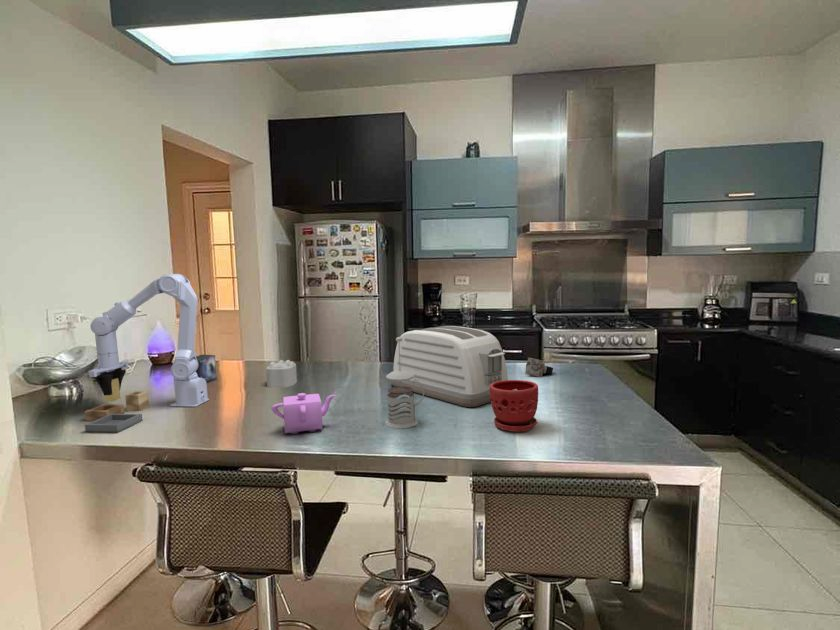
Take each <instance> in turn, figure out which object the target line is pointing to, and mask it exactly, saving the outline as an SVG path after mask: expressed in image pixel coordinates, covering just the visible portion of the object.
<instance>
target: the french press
mask: <svg viewBox="0 0 840 630" xmlns="http://www.w3.org/2000/svg"><path fill="white" fill-rule="evenodd" d="M395 341H396V342H398V341H399V365H400V341H402V338H401V337H400V336H398V337H396V338H395ZM413 377H414V374H412V373H411V372H408V371H406V370H396V371H391V372H390V373H388V374H387V375H386V376H385V378H386V379H387V380H388V381H390V380H393V381H400V386H396V387H395V386H392V387H390V388H389V389H387V392H388V393H387V397H386V398H387V419H386V420H385V421H384V425H385V426H387V427H389V428H393V429H394V428H395V429H405V428H406V429H408V428H411V427H414V426H416V425H418V423H419V420H418V418H417V417H416V407H417V406H418V405H420V404H421V403H423V400H424V397H425V395H424V388H423V386H422V384H421V383H420V382H419V381H418V382H419V383H420V384H421V385H420V384H419V383H418V382H416V381H417V380H413V385H414V382H416V383H418V384H419V385H420V386H421V388H422V390H423V395H422V397H421V399H420V400H419V401H417V402H415V392H412V391H413V389H412V388H411V387H402V386H401V381H404V380H410V379H412V378H413ZM405 395H406V396H405ZM407 396H409V397H407Z"/></svg>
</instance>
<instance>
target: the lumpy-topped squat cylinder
mask: <svg viewBox="0 0 840 630" xmlns="http://www.w3.org/2000/svg"><path fill="white" fill-rule="evenodd" d="M265 372H266V387H268V388H288V387H292V386H294V385H296V384H297V382H298V379H297V378H298V377H297V376H298V375H297V364H296V363H295V361H291V360H290V359H287V360H283V359H281V360H278V361H277V362H275V361H270V363H269V364H268V366H267V367H266V368H265Z"/></svg>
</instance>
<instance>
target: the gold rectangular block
mask: <svg viewBox="0 0 840 630" xmlns="http://www.w3.org/2000/svg"><path fill="white" fill-rule="evenodd" d="M111 390H112V392H111V395H104V394H103V400H104V401H103V402H116V401H117V400H120V399H121V388H119V379H118V378H112V383H111Z"/></svg>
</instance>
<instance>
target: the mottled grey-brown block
mask: <svg viewBox="0 0 840 630" xmlns="http://www.w3.org/2000/svg"><path fill="white" fill-rule="evenodd" d="M545 363H546V361H545V360H541V359H538V358H537V359H536V358H532V357H528V358H527V362H526V364H525V371H524V374H525V375H527V376H533V377H537V378H542V377H543V374H550V375H552V374H553V372H554V367H553V366H552V367H551V366H548V365H546V364H545Z"/></svg>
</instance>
